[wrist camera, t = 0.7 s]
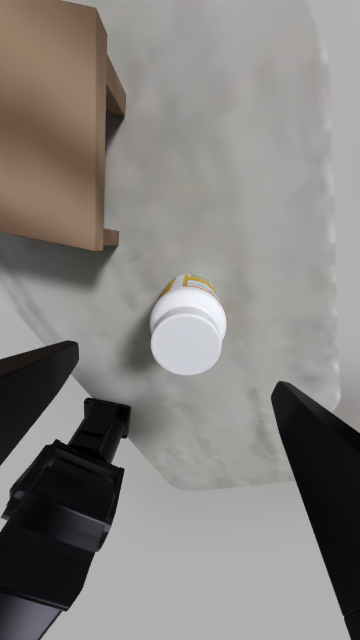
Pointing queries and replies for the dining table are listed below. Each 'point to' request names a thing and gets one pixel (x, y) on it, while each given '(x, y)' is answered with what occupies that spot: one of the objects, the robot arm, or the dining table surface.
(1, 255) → the dining table surface
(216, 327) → the supplement bottle
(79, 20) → the stool
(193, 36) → the dining table surface
